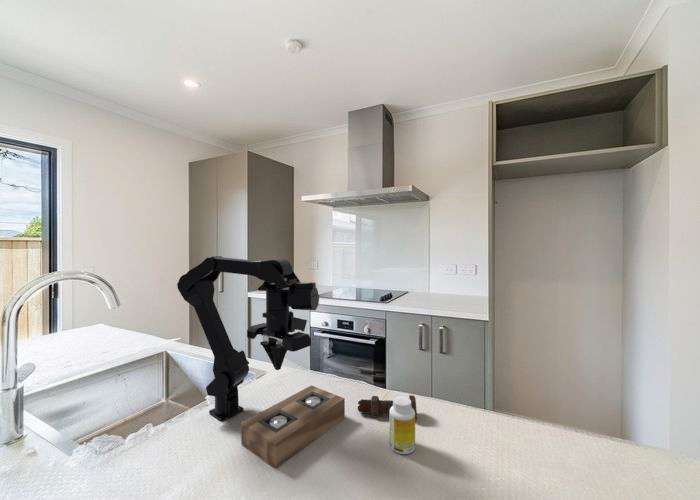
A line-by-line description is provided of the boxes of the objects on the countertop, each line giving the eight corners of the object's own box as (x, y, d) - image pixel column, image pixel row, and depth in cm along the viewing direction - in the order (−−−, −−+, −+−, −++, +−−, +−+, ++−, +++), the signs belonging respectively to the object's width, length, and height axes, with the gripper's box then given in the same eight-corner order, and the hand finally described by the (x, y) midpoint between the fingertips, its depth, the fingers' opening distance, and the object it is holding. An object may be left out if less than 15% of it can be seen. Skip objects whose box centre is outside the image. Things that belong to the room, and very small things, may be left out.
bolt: (359, 418, 79) (416, 420, 76) (356, 418, 74) (417, 421, 72) (359, 394, 81) (414, 396, 79) (357, 392, 77) (415, 394, 75)
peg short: (302, 419, 75) (302, 401, 74) (312, 413, 78) (312, 394, 78) (313, 425, 72) (312, 405, 72) (323, 418, 75) (323, 399, 75)
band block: (241, 444, 65) (241, 422, 65) (311, 402, 83) (311, 385, 83) (275, 469, 58) (275, 444, 58) (344, 417, 76) (344, 398, 76)
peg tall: (266, 442, 66) (266, 421, 66) (279, 434, 69) (279, 413, 69) (277, 449, 63) (276, 427, 63) (290, 440, 67) (290, 419, 66)
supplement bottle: (420, 450, 63) (420, 403, 63) (399, 459, 61) (399, 410, 61) (404, 435, 68) (404, 392, 68) (384, 443, 66) (384, 397, 66)
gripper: (326, 307, 75) (326, 368, 75) (279, 299, 87) (279, 352, 87) (293, 315, 66) (293, 384, 67) (245, 305, 78) (246, 364, 78)
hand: (277, 369), depth 75 cm, fingers closed
